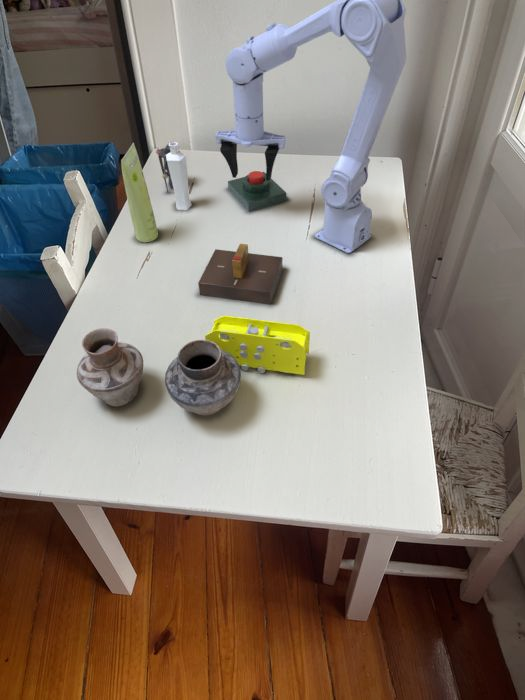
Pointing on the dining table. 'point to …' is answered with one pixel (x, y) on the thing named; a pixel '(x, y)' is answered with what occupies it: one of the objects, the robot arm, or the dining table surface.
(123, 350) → the twin painted vases
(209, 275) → the knob panel
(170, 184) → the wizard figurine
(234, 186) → the box
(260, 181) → the button
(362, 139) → the robot arm
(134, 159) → the tube
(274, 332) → the yellow toy chassis
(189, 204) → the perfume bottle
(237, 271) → the wooden block
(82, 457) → the dining table surface
